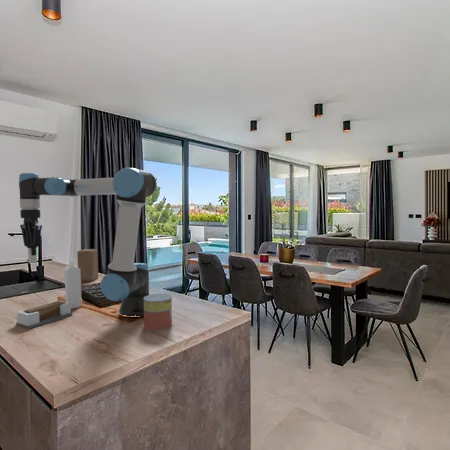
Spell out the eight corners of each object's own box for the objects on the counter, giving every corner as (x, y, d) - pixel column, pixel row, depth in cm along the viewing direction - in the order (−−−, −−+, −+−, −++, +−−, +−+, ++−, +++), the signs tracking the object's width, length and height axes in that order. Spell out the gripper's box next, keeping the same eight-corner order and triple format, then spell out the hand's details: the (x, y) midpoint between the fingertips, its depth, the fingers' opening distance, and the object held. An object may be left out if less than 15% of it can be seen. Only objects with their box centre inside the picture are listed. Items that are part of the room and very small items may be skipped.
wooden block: (92, 281, 216) (91, 251, 215) (77, 281, 216) (76, 251, 215) (98, 278, 226) (97, 248, 225) (84, 278, 226) (83, 248, 225)
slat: (63, 313, 150) (63, 302, 149) (29, 323, 137) (29, 311, 136) (58, 312, 151) (58, 301, 151) (25, 322, 138) (24, 310, 138)
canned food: (173, 329, 132) (173, 299, 131) (144, 332, 129) (144, 302, 128) (170, 320, 143) (169, 292, 142) (143, 323, 140) (142, 294, 139)
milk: (68, 309, 158) (66, 263, 157) (65, 306, 163) (63, 261, 162) (82, 306, 162) (80, 262, 161) (78, 303, 167) (77, 260, 165)
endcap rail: (72, 315, 150) (72, 303, 149) (30, 328, 133) (29, 315, 133) (58, 311, 155) (58, 300, 154) (16, 324, 138) (15, 311, 138)
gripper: (47, 208, 145) (49, 262, 147) (30, 208, 152) (32, 260, 153) (30, 209, 139) (32, 265, 140) (13, 209, 145) (15, 262, 147)
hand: (32, 262), depth 147 cm, fingers closed
